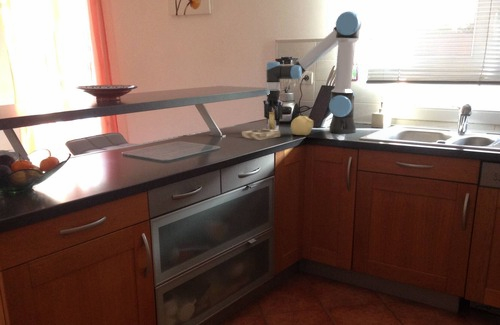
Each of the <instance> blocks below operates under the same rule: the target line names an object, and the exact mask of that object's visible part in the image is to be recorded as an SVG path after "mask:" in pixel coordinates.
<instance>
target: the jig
mask: <svg viewBox="0 0 500 325" xmlns="http://www.w3.org/2000/svg"><path fill="white" fill-rule="evenodd" d="M277 137H279V138H280V137H281V130H279V131H278V130H271V129H268V128H256V129H249V130H244V131H243V130H242V131H241V138H246V139H252V140H259V141H261V140H266V139H267V140H268V139H272V138H277Z"/></svg>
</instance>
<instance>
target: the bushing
mask: <svg viewBox="0 0 500 325" xmlns="http://www.w3.org/2000/svg"><path fill="white" fill-rule="evenodd" d="M274 120H275V112H274V110H272V111H271V112H269V129H271V130H274Z"/></svg>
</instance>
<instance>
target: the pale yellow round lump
mask: <svg viewBox="0 0 500 325" xmlns="http://www.w3.org/2000/svg"><path fill="white" fill-rule="evenodd" d="M314 122H315V121H314V120H313V119H311V118H309V116H307V115H298V116H297V117H295V118H294V119H292V121H291V123H290V130H291V132H292V134H293V135H295V136H308V135H309V134H311V131H312V130H313V128H314Z"/></svg>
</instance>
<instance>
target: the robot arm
mask: <svg viewBox="0 0 500 325" xmlns="http://www.w3.org/2000/svg"><path fill="white" fill-rule="evenodd" d="M361 26H362V21H361V18H360V16H359V15H358V14H357V13H356V12H354V11H344V12H342V13H341V14H340V15H338V17H337V18H336V21H335V27H333V29H332V31H331V32H330V33H329V34H328V35H327V36H325V37H324V38H323V39H322V40H321V41H319V42H318V43H317V44H316V45H314V47H312V48H311V49H310V50H309V51H307V53H305V54H304V55H303V56H302V57H301V58H300V59H298V60H297V61H296V62H295V63H293V64H291V65H288V64H287V65H281V63H280V62H279V61H268V62H266V73H265V74H266V90H268V89H269V90H270V94H269V95H267V94H266V98H267V99H266V100H265V99H264V100H263V109H264V110H263V111H264V113H263V114H264V115H263V118H265V119H266V125H267V129H269V112H271V111H274V112H275V120H274V130H278V131H280V130H279V129H280V128H279V126H280V120H282V119H283V106H284V101H283V100H282V101H281V100H280V96H281V90H280V89H281V87H280V86H281V85H280V84H281V83H280V82H281V80H300V79H301V78H302V76H303V74H305V73H306V71H308V70H310V68H312V67H313V66H314V65H315V64H316V63H317V62H319V61H320V60H321V59H323V57H325V56H326V55H327V54H328V53H330V52H331V51H332V50H333V49H335V48H336V47H337V54H336V55H337V56H336V64H335V65H336V68H335V77H334V78H335V80H334V88H332V90H331V91H330V92H331V93H330V101H329V104H328V108H329V111H330V113H331V114H332V120H331V122H330V124H329V127H328V128H329V132H330V133H334V134H335V133H336V134H353V133H357V132H356V131H357V127H356V123H355V120H354V119H355V118H354V111H355V110H354V108H355V98H356V97H355V92H354V91H353V90H352V81H353V80H352V79H353V68H354V57H355V47H356V42H357V41H358V40H359V36H360V29H361Z"/></svg>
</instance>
